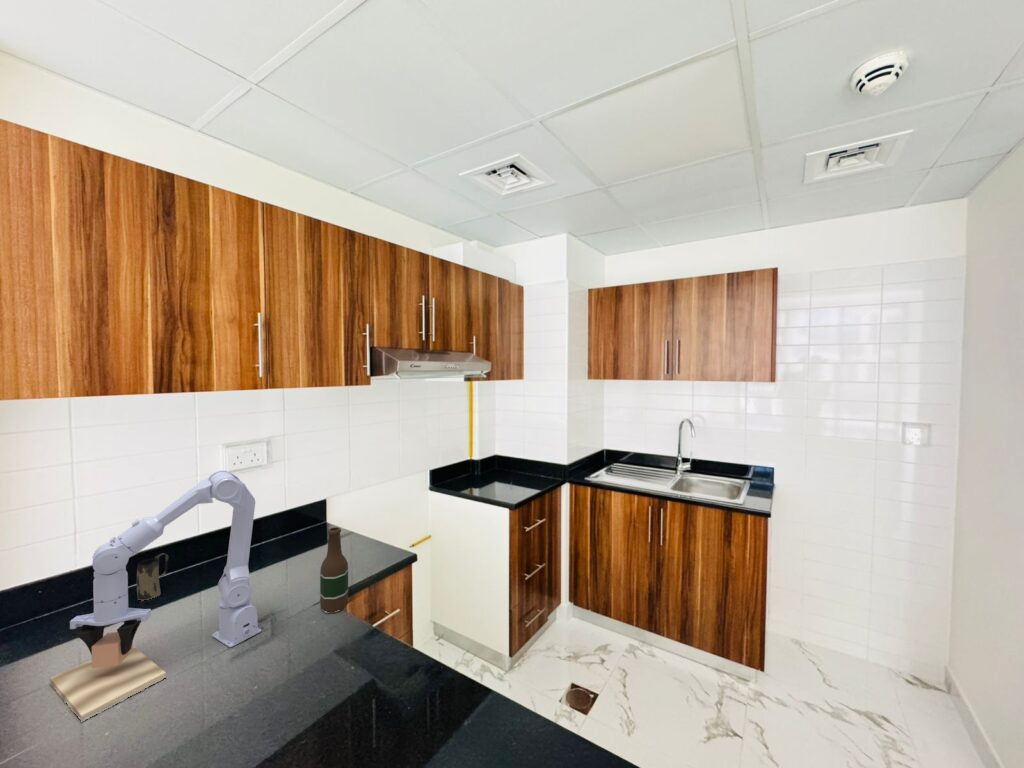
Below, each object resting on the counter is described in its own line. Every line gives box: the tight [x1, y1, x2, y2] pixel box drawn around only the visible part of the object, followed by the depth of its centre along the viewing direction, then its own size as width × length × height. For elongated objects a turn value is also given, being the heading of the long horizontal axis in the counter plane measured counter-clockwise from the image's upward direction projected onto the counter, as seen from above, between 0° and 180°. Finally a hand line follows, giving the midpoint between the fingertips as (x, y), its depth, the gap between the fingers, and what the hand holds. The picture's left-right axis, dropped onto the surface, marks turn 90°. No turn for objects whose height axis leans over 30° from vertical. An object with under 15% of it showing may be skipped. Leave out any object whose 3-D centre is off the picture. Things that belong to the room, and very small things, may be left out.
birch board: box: [49, 645, 167, 720], centre depth 95 cm, size 20×14×2 cm
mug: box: [136, 552, 169, 602], centre depth 131 cm, size 8×6×12 cm
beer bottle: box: [319, 526, 349, 612], centre depth 126 cm, size 8×8×24 cm
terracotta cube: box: [91, 631, 134, 668], centre depth 97 cm, size 5×5×5 cm
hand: (112, 653), depth 97 cm, fingers closed on terracotta cube, 5 cm apart
